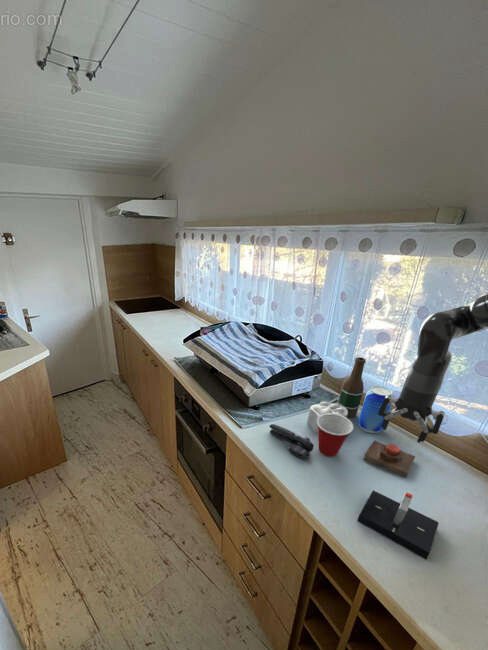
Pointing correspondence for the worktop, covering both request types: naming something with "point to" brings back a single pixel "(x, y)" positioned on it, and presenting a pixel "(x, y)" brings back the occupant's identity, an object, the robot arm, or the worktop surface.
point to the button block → (389, 459)
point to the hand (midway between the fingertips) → (401, 434)
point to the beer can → (373, 409)
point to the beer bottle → (353, 389)
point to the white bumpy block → (323, 409)
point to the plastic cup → (332, 433)
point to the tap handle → (402, 510)
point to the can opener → (293, 441)
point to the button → (392, 449)
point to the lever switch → (412, 531)
